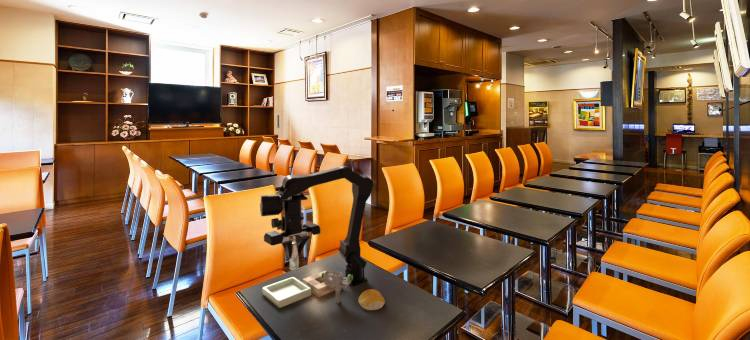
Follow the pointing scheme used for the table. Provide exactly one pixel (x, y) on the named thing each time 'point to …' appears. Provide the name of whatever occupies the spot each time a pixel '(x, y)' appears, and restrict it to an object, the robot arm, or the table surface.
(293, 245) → the pin
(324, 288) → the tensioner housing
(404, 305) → the table surface
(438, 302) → the table surface
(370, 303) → the bread roll
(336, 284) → the mechanical component
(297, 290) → the parts tray
